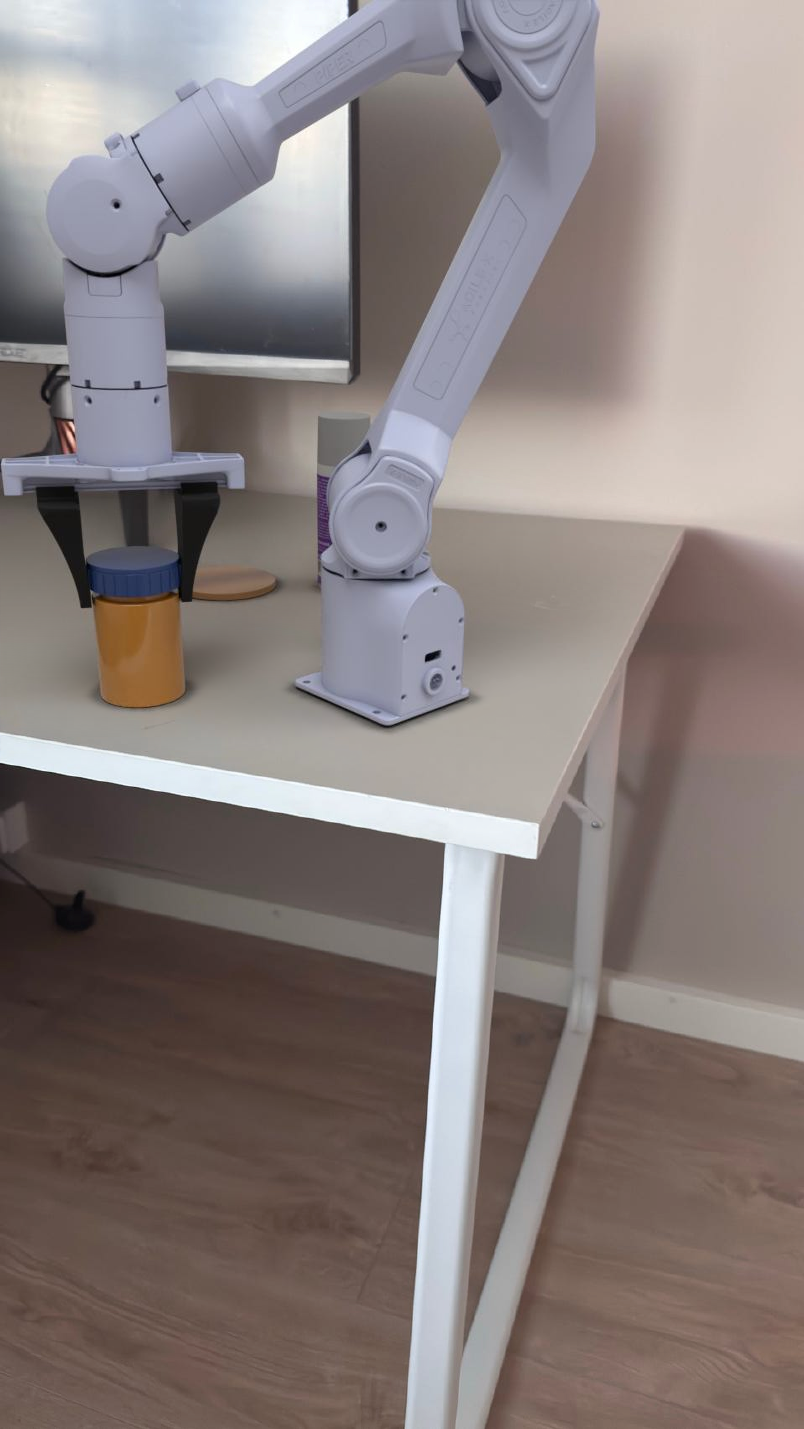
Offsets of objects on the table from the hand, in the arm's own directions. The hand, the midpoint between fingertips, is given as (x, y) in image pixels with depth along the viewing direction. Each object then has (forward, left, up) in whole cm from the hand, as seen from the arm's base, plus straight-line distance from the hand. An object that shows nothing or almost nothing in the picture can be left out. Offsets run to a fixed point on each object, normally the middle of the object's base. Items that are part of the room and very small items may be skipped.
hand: (135, 600), depth 70 cm
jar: (0, 0, -6) cm, 6 cm away
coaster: (+17, -19, -6) cm, 26 cm away
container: (+10, -27, -7) cm, 30 cm away
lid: (0, 0, +3) cm, 3 cm away
